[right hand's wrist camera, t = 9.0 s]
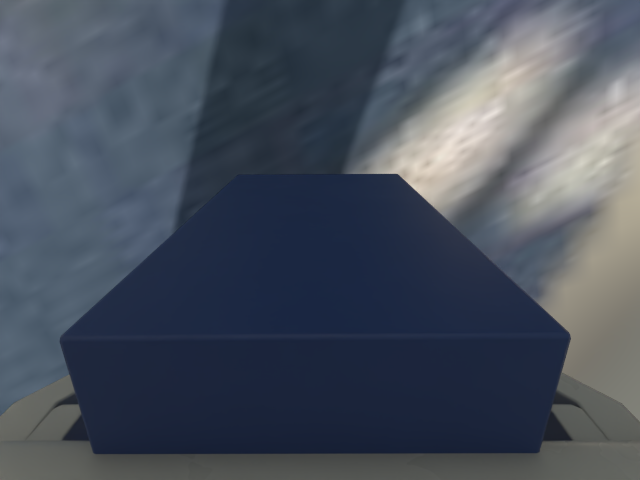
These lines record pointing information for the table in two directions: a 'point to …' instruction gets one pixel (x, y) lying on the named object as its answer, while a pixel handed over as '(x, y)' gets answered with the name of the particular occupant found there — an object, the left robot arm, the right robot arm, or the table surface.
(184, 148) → the table surface
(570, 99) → the table surface
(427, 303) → the box
